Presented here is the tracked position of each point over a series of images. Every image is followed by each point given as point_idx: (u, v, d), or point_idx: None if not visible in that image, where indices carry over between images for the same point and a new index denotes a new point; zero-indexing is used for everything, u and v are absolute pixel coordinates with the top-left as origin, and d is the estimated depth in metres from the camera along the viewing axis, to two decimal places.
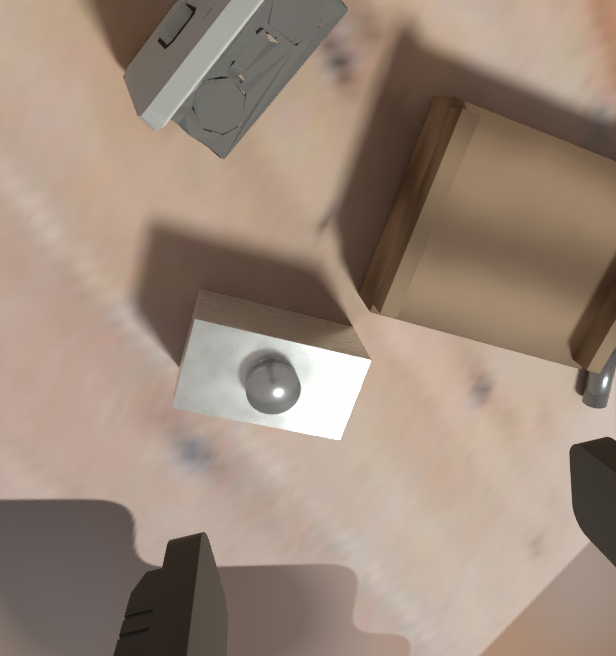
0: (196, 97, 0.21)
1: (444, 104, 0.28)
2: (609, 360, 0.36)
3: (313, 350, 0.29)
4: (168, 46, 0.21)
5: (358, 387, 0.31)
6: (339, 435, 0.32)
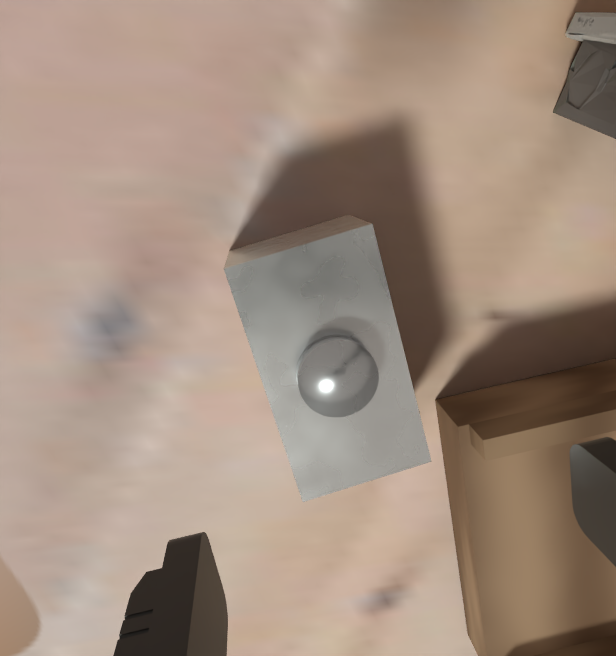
0: None
1: None
2: None
3: (407, 390, 0.21)
4: None
5: (388, 472, 0.22)
6: (309, 497, 0.22)
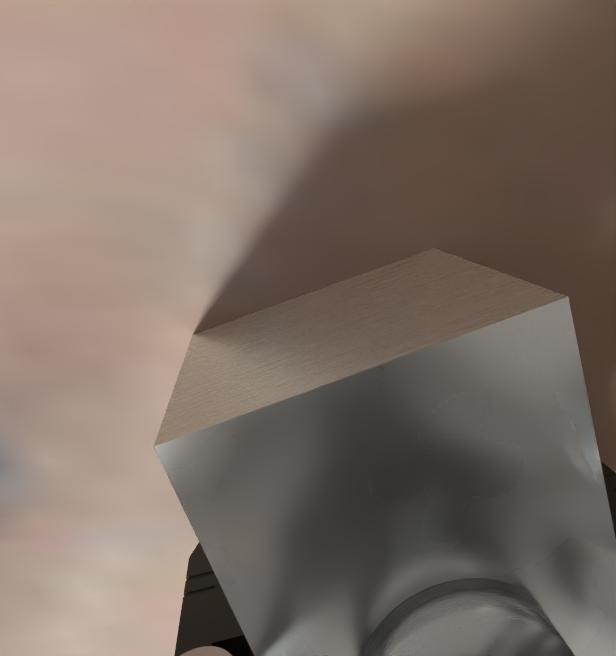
0: None
1: None
2: None
3: None
4: None
5: None
6: None
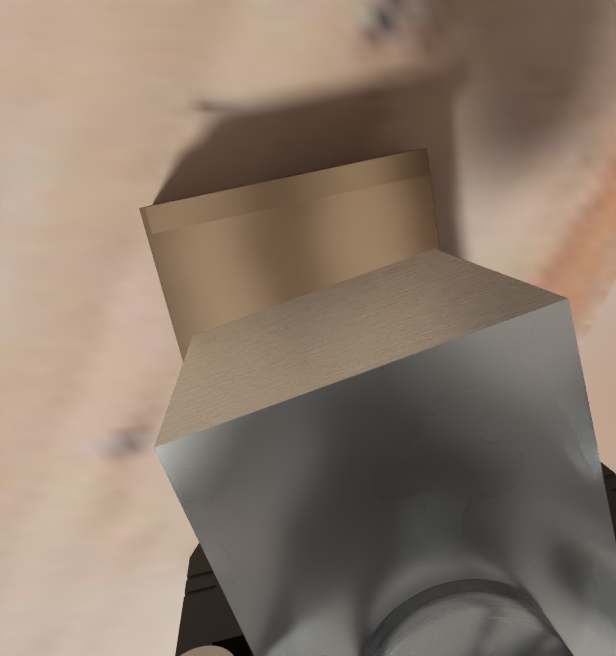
0: None
1: None
2: None
3: None
4: None
5: None
6: None
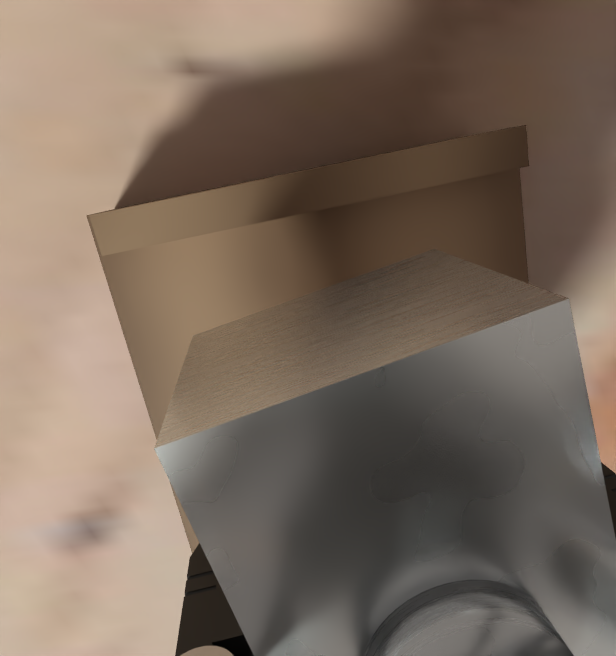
0: None
1: None
2: None
3: None
4: None
5: None
6: None
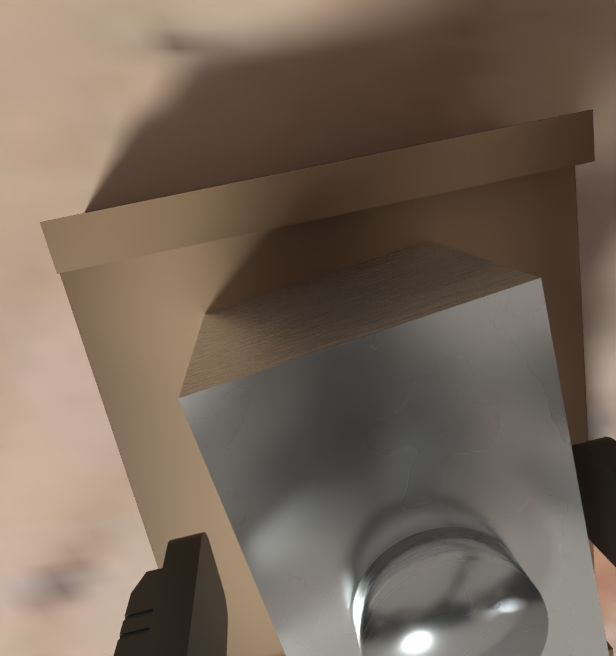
0: None
1: (533, 121, 0.13)
2: None
3: (591, 626, 0.10)
4: None
5: None
6: None
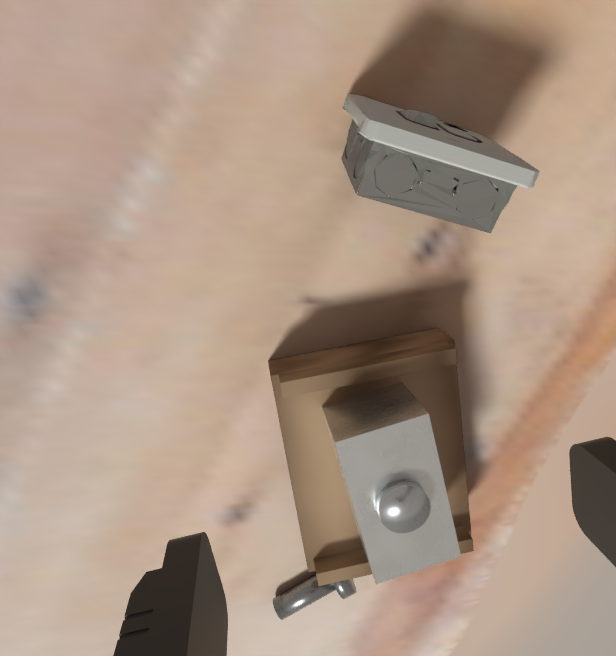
0: (395, 155, 0.26)
1: (442, 336, 0.35)
2: (321, 590, 0.40)
3: (447, 512, 0.32)
4: (408, 120, 0.27)
5: (432, 564, 0.33)
6: (380, 581, 0.32)
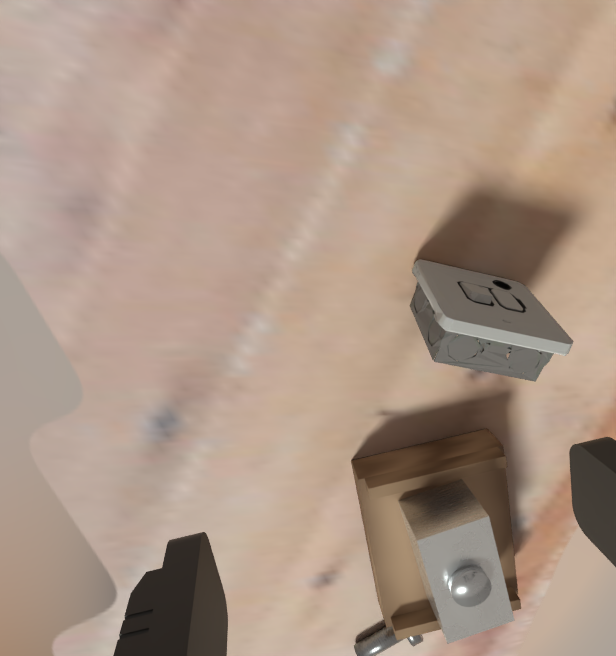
0: (463, 335, 0.34)
1: (492, 440, 0.44)
2: (394, 638, 0.49)
3: (503, 587, 0.40)
4: (470, 300, 0.36)
5: (491, 627, 0.41)
6: (450, 641, 0.41)
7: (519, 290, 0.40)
